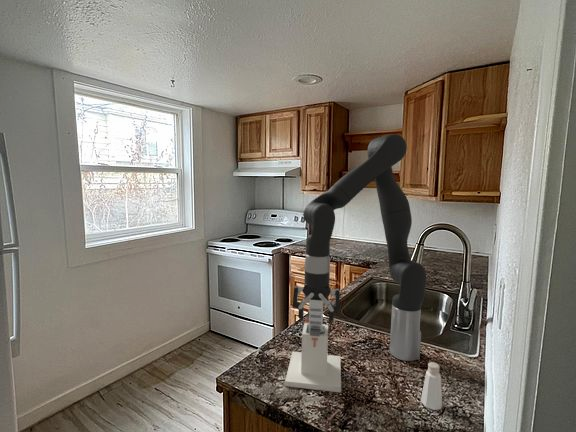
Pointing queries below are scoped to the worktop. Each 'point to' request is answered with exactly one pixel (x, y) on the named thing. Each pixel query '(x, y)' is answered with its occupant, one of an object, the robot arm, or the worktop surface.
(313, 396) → the worktop surface
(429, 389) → the pepper shaker
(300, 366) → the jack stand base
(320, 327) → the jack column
